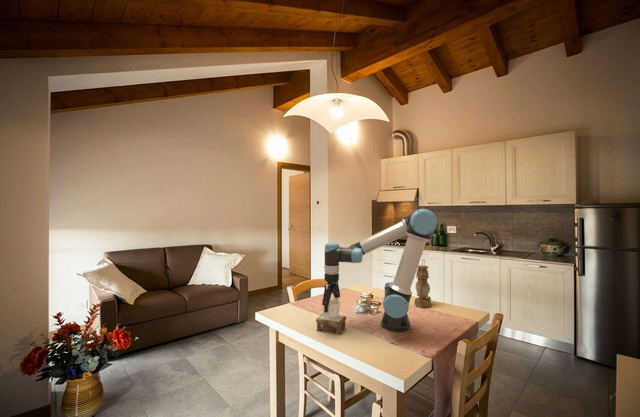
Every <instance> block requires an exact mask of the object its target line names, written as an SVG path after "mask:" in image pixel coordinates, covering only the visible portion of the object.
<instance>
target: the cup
mask: <svg viewBox="0 0 640 417" xmlns="http://www.w3.org/2000/svg"><path fill="white" fill-rule="evenodd" d="M329 305H330V318H331V319H337V318H338V315H340V314H339V312H340V307H341V301H337V300H332V299H330V302H329ZM321 310H322V313H324V305H322V307H321Z"/></svg>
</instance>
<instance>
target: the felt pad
mask: <svg viewBox="0 0 640 417" xmlns="http://www.w3.org/2000/svg"><path fill="white" fill-rule="evenodd" d="M322 314H323V313H322ZM322 314H321V315H322ZM339 315H340V314H338V318H337V319H331V318H329V319H326V318H324V314H323V315H322V316H321V317H320V318H319V319H322V320H329V321H335V322H340V320H341V319H342V318H343V317H344V316H345V315H340V316H339Z"/></svg>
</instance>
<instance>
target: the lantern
mask: <svg viewBox="0 0 640 417" xmlns="http://www.w3.org/2000/svg"><path fill="white" fill-rule="evenodd" d="M423 263H426V261H425V259H422V260H421V264H419V265H418V268H417V271H416V274H415V277H416V278H417V282H416V283H415V290H416V296H417V297H416V298H415V299H414V306H415V305H416V306H415V307H417V306H418V307H417V308H421V307H429V308H431V307H432V303H431V301H432V298H431V297H430V296H429V294H430V293H431V292H430V291H431V285H430V284H429V281H428V279H429V278H430V276H429V270H428V269H429V266H427V265H424V264H423Z"/></svg>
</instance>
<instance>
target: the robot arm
mask: <svg viewBox="0 0 640 417" xmlns="http://www.w3.org/2000/svg"><path fill="white" fill-rule="evenodd" d="M436 216H437V215H436V214H435V213H434V212H433V211H432V210H429V209H428V208H427V209H426V208H418V209H416V210H414V211H413V212H411V213H410V214H409V215H407V216H406V217H403V218H402V220H401V221H399V222H397V223H395V224H393V225H391V226H388V227H387V228H385V229H382V230H380V231H379V232H376V233H374V234H373V235H370V236H368V237H366V238H364V239H362V240H360V241H357V242H355V243H353V244H350V246H348V247H341V246H340V244H339V243H338V242H327V243H325V244H324V266H323V268H324V276H323V277H324V278H323V279H324V282H327V283H326V284H325V285H324V290H323V296H322V302H321V305H322V306H323V305H324V307H323V310H324V312H323V313H324V318H326V319H329V318H330V305H329V302H330V301H331V297H332V295H333V300H337V301H339V299H340V298H341V291H340V286H339V281H340V274H339V273H340V263H352V264H361V263H363V257H364V256H365V255H366V254H368V253H370V252H373V251H375V250H376V249H377V250H378V249H379V248H381V247H384V246H386V245H389V244H390V243H392V242H394V241H395V242H396V240H399V239H401V238H403V237H405V236H407V239H406V242H405V246H404V248H403V251H402V254H401V257H400V260H399V264H398V266H397V269H396V273H395V275H394V278H393V281H392V282H386V283H385V284H384V295H383V296H384V297H383V302H382V306H383V313H382V314H383V315H382V316H381V320H380V325H381V326H380V327H382V328H383V329H384V330H385V329H386V330H388V331H391V332H406V331H408V330H410V329H411V321H410V318H409V315H408V311H409V309H410V301H411V299H412V297H413V296H412V295H413V292H412V290H411V288H412V286H413V282H414V279H415V277H416V275H417V274H416V273H417V270H418V266H419V265H420V261H421V259H422V256H423V252H424V248H425V246H426V244H427V243H428V242H430V241H431V240H432V236H433V233H434V231H435V230H436V228H437V226H438V218H437V217H436Z"/></svg>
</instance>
